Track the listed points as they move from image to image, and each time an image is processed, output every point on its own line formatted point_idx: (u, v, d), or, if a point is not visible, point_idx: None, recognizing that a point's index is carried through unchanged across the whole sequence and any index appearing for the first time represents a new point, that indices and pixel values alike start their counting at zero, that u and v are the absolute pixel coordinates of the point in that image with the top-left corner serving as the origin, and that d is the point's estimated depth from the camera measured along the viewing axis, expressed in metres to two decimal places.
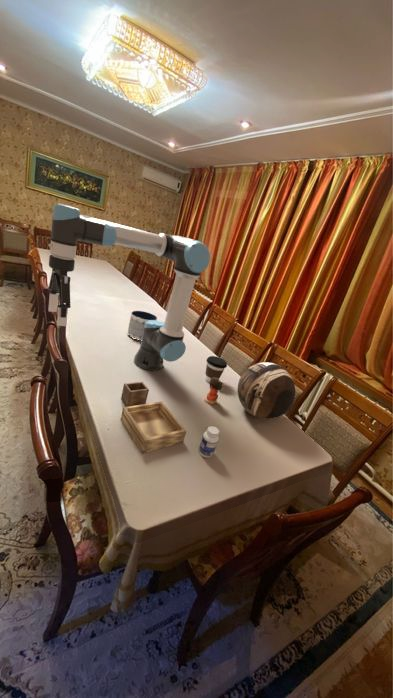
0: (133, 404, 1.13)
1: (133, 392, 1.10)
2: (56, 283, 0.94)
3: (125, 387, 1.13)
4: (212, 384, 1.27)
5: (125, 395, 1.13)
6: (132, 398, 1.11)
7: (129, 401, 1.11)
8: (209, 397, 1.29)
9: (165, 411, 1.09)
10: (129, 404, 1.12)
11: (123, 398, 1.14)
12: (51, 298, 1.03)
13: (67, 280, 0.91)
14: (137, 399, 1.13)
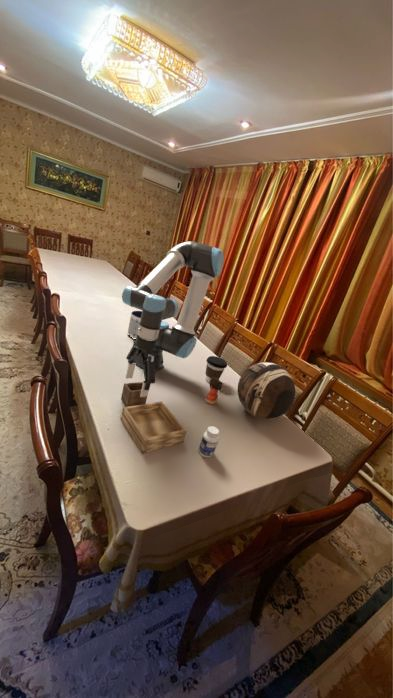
0: (133, 404, 1.13)
1: (133, 392, 1.10)
2: (141, 360, 1.06)
3: (125, 387, 1.13)
4: (212, 384, 1.27)
5: (125, 395, 1.13)
6: (132, 398, 1.11)
7: (129, 401, 1.11)
8: (209, 397, 1.29)
9: (165, 411, 1.09)
10: (129, 404, 1.12)
11: (123, 398, 1.14)
12: (129, 367, 1.16)
13: (153, 359, 1.04)
14: (137, 399, 1.13)
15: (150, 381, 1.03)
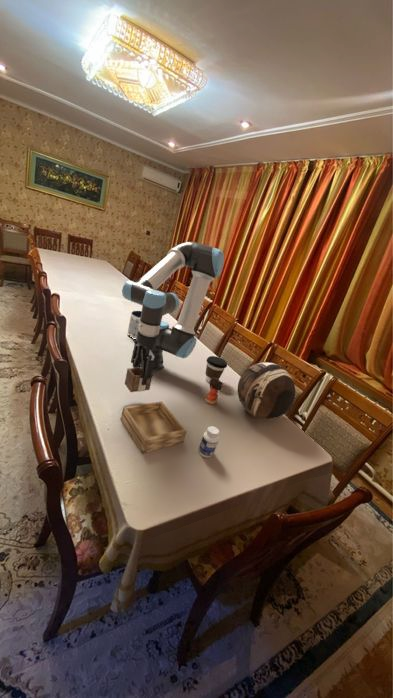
0: (137, 389, 1.11)
1: (137, 377, 1.09)
2: (141, 356, 1.07)
3: (129, 372, 1.11)
4: (212, 384, 1.27)
5: (129, 380, 1.11)
6: (135, 383, 1.10)
7: (133, 386, 1.09)
8: (209, 397, 1.29)
9: (165, 411, 1.09)
10: (133, 389, 1.10)
11: (127, 383, 1.12)
12: None
13: (153, 358, 1.04)
14: None
15: (146, 377, 1.07)
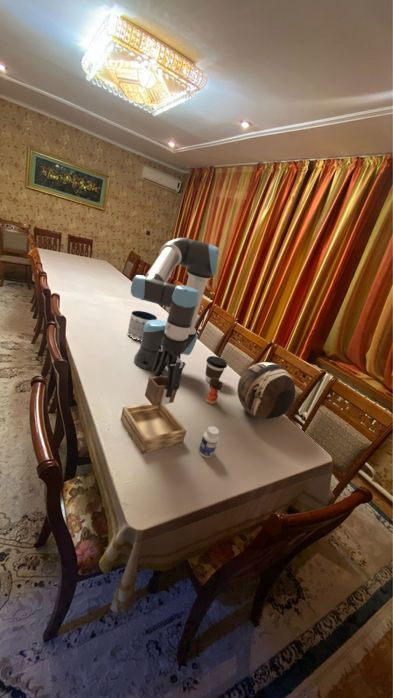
0: (160, 402, 0.95)
1: (161, 388, 0.92)
2: (167, 363, 0.91)
3: (151, 382, 0.95)
4: (212, 384, 1.27)
5: (150, 391, 0.95)
6: (158, 395, 0.93)
7: (155, 398, 0.93)
8: (209, 397, 1.29)
9: (165, 411, 1.09)
10: (156, 402, 0.94)
11: (148, 395, 0.96)
12: None
13: (182, 366, 0.88)
14: None
15: (173, 388, 0.90)
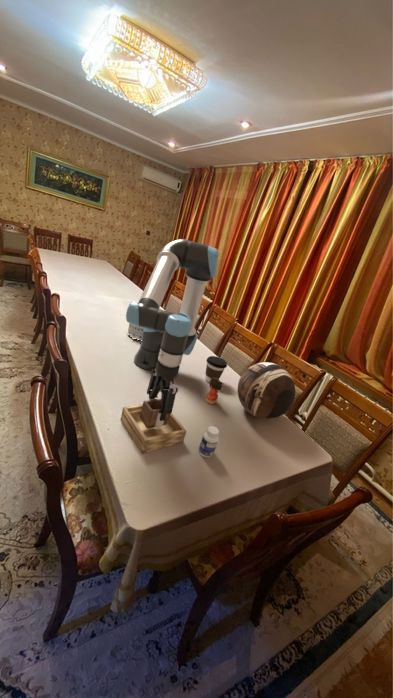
0: (154, 425, 0.98)
1: (155, 411, 0.96)
2: (161, 388, 0.94)
3: (145, 405, 0.98)
4: (212, 384, 1.27)
5: (145, 414, 0.98)
6: (153, 419, 0.97)
7: (150, 422, 0.96)
8: (209, 397, 1.29)
9: None
10: (150, 425, 0.97)
11: (142, 418, 0.99)
12: None
13: (175, 392, 0.92)
14: None
15: (166, 412, 0.94)
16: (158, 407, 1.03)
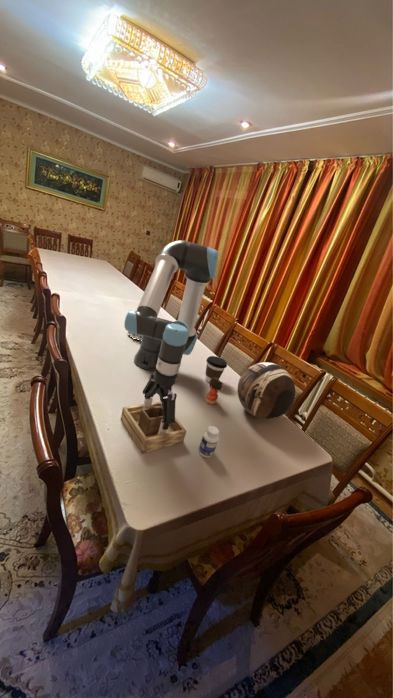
0: (152, 432, 1.00)
1: (152, 420, 0.97)
2: (160, 396, 0.95)
3: (143, 413, 0.99)
4: (212, 384, 1.27)
5: (143, 422, 0.99)
6: (151, 427, 0.98)
7: (148, 430, 0.98)
8: (209, 397, 1.29)
9: None
10: (148, 433, 0.99)
11: (140, 425, 1.01)
12: (146, 403, 1.04)
13: (174, 397, 0.92)
14: (156, 427, 1.00)
15: (169, 421, 0.93)
16: (156, 414, 1.05)
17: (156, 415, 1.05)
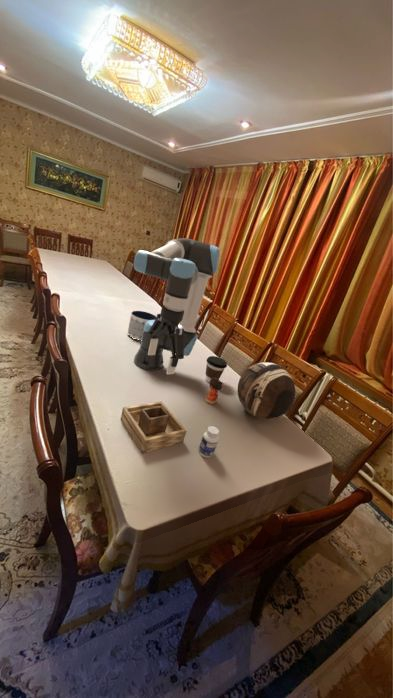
0: (152, 432, 1.00)
1: (152, 420, 0.97)
2: (167, 334, 0.95)
3: (143, 413, 0.99)
4: (212, 384, 1.27)
5: (143, 422, 0.99)
6: (151, 427, 0.98)
7: (148, 430, 0.98)
8: (209, 397, 1.29)
9: None
10: (148, 433, 0.99)
11: (140, 425, 1.01)
12: (152, 343, 1.05)
13: (181, 332, 0.93)
14: (156, 427, 1.00)
15: (178, 356, 0.93)
16: (156, 414, 1.05)
17: (156, 415, 1.05)
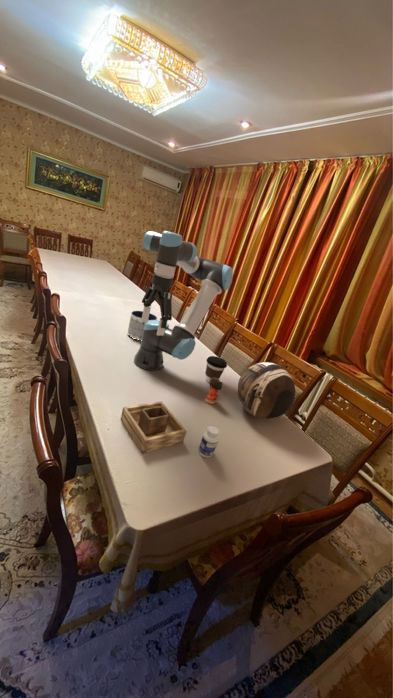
0: (152, 432, 1.00)
1: (152, 420, 0.97)
2: (158, 298, 1.08)
3: (143, 413, 0.99)
4: (212, 384, 1.27)
5: (143, 422, 0.99)
6: (151, 427, 0.98)
7: (148, 430, 0.98)
8: (209, 397, 1.29)
9: None
10: (148, 433, 0.99)
11: (140, 425, 1.01)
12: (145, 310, 1.18)
13: (170, 296, 1.06)
14: (156, 427, 1.00)
15: (167, 317, 1.05)
16: (156, 414, 1.05)
17: (156, 415, 1.05)
